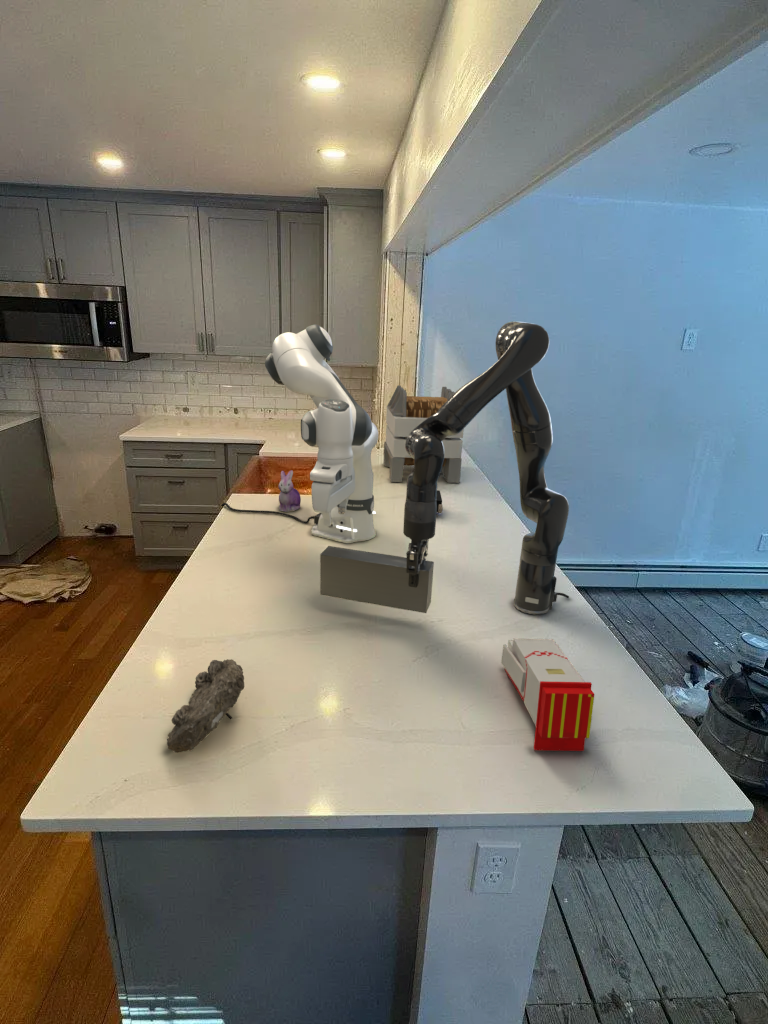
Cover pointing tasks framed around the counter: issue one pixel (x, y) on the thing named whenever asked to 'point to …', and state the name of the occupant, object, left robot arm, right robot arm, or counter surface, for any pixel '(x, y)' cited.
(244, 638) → the counter surface
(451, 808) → the counter surface
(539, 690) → the toy
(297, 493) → the figurine
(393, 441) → the stacked crate on legs
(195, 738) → the fossil
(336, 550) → the box
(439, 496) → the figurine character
